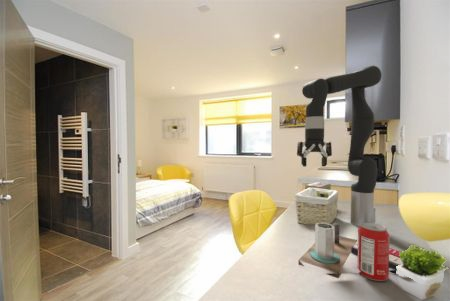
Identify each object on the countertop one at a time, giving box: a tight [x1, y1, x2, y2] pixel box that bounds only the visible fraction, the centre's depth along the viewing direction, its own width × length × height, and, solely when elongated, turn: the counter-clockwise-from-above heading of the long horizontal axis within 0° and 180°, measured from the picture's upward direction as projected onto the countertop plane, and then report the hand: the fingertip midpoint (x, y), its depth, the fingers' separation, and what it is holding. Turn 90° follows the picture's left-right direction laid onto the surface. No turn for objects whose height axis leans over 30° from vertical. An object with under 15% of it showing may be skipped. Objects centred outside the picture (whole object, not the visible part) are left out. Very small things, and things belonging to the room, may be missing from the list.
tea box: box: [304, 181, 332, 198], centre depth 141 cm, size 15×10×15 cm
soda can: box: [357, 222, 391, 282], centre depth 67 cm, size 8×8×15 cm
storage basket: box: [294, 188, 339, 225], centre depth 117 cm, size 24×16×15 cm
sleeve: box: [314, 223, 335, 260], centre depth 76 cm, size 6×6×10 cm
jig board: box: [298, 222, 358, 279], centre depth 81 cm, size 30×12×8 cm, turn 140°
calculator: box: [350, 243, 402, 275], centre depth 76 cm, size 11×4×15 cm
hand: (314, 166), depth 96 cm, fingers open, 8 cm apart
